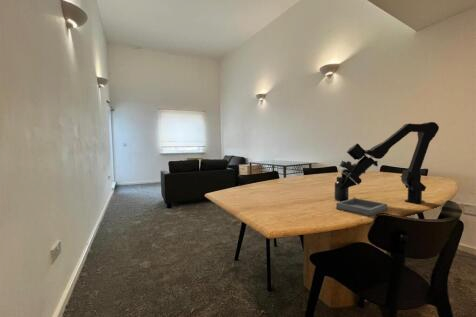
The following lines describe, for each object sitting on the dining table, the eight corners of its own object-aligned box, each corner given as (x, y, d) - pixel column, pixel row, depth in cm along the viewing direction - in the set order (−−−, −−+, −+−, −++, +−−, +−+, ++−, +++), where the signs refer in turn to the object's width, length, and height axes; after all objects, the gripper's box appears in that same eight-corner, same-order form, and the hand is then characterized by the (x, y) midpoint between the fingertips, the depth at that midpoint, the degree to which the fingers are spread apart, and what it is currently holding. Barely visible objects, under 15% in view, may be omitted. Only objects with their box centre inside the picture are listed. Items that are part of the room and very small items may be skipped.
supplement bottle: (349, 201, 125) (350, 178, 124) (335, 201, 126) (335, 178, 125) (346, 198, 131) (347, 176, 131) (333, 198, 133) (333, 176, 132)
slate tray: (354, 203, 120) (354, 198, 120) (387, 210, 108) (387, 204, 108) (336, 209, 112) (336, 202, 112) (369, 216, 99) (369, 210, 99)
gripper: (345, 154, 135) (324, 174, 138) (354, 156, 117) (330, 179, 120) (361, 168, 134) (339, 188, 137) (372, 172, 116) (347, 195, 119)
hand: (338, 187), depth 129 cm, fingers open, 9 cm apart
